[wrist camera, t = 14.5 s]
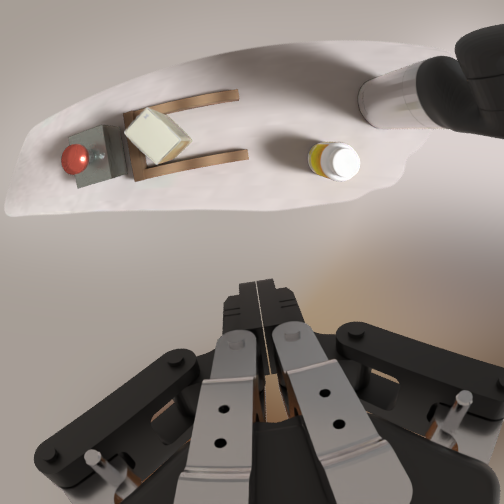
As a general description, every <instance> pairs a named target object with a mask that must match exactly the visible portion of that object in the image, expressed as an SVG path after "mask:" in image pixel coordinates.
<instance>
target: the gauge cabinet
mask: <svg viewBox="0 0 504 504" xmlns="http://www.w3.org/2000/svg"><path fill="white" fill-rule="evenodd" d="M68 138H69V145H72V144H81V145H83V146H85V147H86V149H89V150H91V151H92V152H93V154H94V159H93V162H92V163H91V164H90V165H88V166H87V168H86V169H85V170H84V171H83V172H81V173H79V174H75V178H76V183H77V188H81V187H85V186H88V185H91V184H95V183H98V182H102V181H105V180H109V179H112V178H115V177H118V176H122V175H125V174H128V172H127V167H126V161H125V156H124V150H123V144H122V138H121V132H120V127H116V126H108V125H100V126H98V127H95V128H92V129H89V130H86V131H84V132H81V133H78V134H76V135H73V136H71V137H68Z"/></svg>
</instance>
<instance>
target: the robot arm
mask: <svg viewBox="0 0 504 504" xmlns="http://www.w3.org/2000/svg"><path fill="white" fill-rule="evenodd" d="M455 54H456V57H457V60H458V61H457V60H455V59H453V58H451V57H447V56H437V57H433V58H430V59H427V60H424V61H421V62H418V63H415V64H412V65H409V66H406V67H404V68H401V69H398V70H395V71H393V72H390V73H387V74H385V75H382V76H379V77H377V78H374V79H372V80H369V81H367V82H366V83H365V84H363V86H362V87H361V89H360V91H359V95H358V104H359V108H360V111H361V113H362V115H363V117H364V118H365V119H366V120H367V121H368V122H369V123H370V124H371V125H372V126H374V127H376V128H379V129H451V130H453V131H456V132H462V133H471V134H478V135H483V136H489V137H495V138H500V139H504V24H500V25H495V26H490V27H486V28H482V29H479V30H476V31H473V32H471V33H469V34H466V35H465V36H463V37H462V38H461V39H460V40H459V41H458V42H457V43H456V45H455ZM257 287H258V294H259V300H260V307H261V313H262V320H263V326H264V332H265V338H266V344H267V349H268V356H269V362H270V368H271V373H272V374H276V373H277V376H278V382H279V389H280V392H281V396H282V399H283V403H284V406H285V410H286V413H287V416H288V419H287V420H284V421H282V422H278V423H268V422H266V392H265V384H266V381H265V375H269V374H270V373H269V366H268V359H267V353H266V347H265V340H264V335H263V327H262V321H261V315H260V309H259V303H258V296H257V290H256V284H255V282H247V283H241V284H239V293H240V294H239V295H234V296H229V297H228V298H227V300H226V301H225V302H224V311H223V333H222V334H223V335H222V336H221V337H220V338H219V339H218V341H217V344H216V348H215V349H214V350H212V351H210V352H208V353H206V354H203V355H200V356H197V357H196V355H195V354H194V353H193V352H192V351H190V350H188V349H175V350H172V351H169V352H167V353H165V354H164V355H162V356H161V357H160V358H158V359H157V360H156V361H154V362H153V363H152V364H150V365H149V366H148V367H146V368H145V369H144V370H142V371H141V372H140V373H138V374H137V375H136V376H135V377H133V378H132V379H130V380H129V381H128V382H127V383H125V384H124V385H122V386H121V387H120V388H118V389H117V390H115V391H114V392H113V393H111V394H110V395H109V396H107V397H106V398H105V399H103V400H102V401H101V402H99V403H98V404H96V405H95V406H94V407H92V408H91V409H89V410H88V411H87V412H85V413H84V414H83V415H81V416H80V417H78V418H77V419H75V420H74V421H73V422H71V423H70V424H68V425H67V426H66V427H64V428H63V429H61V430H60V431H58V432H57V433H56V434H54V435H53V436H51V437H50V438H48V439H47V440H45V441H44V442H43V443H42V444H40V445H39V446H38V448H37V449H36V452H35V454H34V463H35V466H36V467H37V468H38V470H39V471H41V472H42V473H43V474H44V475H45V476H46V477H47V478H49V479H50V480H51V481H52V482H53V483H54V485H56V486H57V487H58V488H60V489H61V490H62V491H64V493H65V494H66V496H67V497H68V498H69V500H70V501H71V503H72V504H499V501H500V485H499V481H498V478H497V476H496V474H495V472H494V471H493V470H492V468H490V467H489V466H488V463H489V461H490V458H491V456H492V453H493V450H494V447H495V444H496V441H497V438H498V435H499V432H500V429H501V425H502V422H503V421H504V368H503V367H499V366H496V365H493V364H489V363H486V362H483V361H479V360H476V359H473V358H470V357H466V356H463V355H460V354H457V353H454V352H451V351H447V350H445V349H441V348H438V347H435V346H432V345H429V344H426V343H423V342H420V341H417V340H414V339H411V338H408V337H405V336H402V335H399V334H396V333H393V332H390V331H387V330H384V329H382V328H379V327H375V326H373V325H370V324H367V323H364V322H349V323H346V324H344V325H342V326H341V327H339V328H338V330H337V331H336V334H319V333H315V332H313V330H312V329H311V327H310V326H309V325H307V324H305V322H304V319H303V317H302V314H301V311H300V308H299V306H298V304H297V301H296V298H295V296H294V293H293V292H292V291H291V290H289V289H288V288H287V287H285V288H279V289H276V288H275V285H274V281H273V279H266V280H260V281H257ZM372 369H375V370H377V371H380V372H382V373H385V374H387V375H390V376H392V377H394V378H396V379H397V380H398V382H399V383H400V384H398V383H396V382H393V381H391V380H388V379H386V378H383V377H381V376H378V375H376V374H374V373H371V370H372ZM171 399H173V401H174V403H173V404H172V405H171V406H170V407H169V408H168V409H166V410H165V411H164V412H163V413H162V414H160V415H159V416H158V417H157V418H156V419H154V420H153V421H152V422H151V419H152V417H153V415H154V414H155V413H156V412H158V411H159V410H160V409H161V408H162V407H164V406H165V405H166V404H167V403H168V402H170V401H171ZM366 411H368V412H370V413H372V414H370V413H366ZM400 426H401V427H400ZM407 429H408V430H407ZM409 430H410V431H409ZM411 431H412V432H411ZM413 432H415V433H417V434H415V433H413ZM418 434H420V435H422V436H425V437H426V438H424V437H422V436H420V435H418ZM190 438H191V440H190V441H189V442H187V441H188V440H189V439H190ZM186 442H187V443H186ZM185 443H186V444H185ZM167 459H168V460H167ZM166 460H167V461H166ZM165 461H166V462H165ZM164 462H165V463H164ZM158 467H159V468H158ZM157 468H158V469H157ZM156 469H157V470H156ZM155 470H156V471H155ZM154 471H155V472H154ZM153 472H154V473H153ZM152 473H153V474H152ZM150 474H152V475H151V476H150V477H149V478H148V479H146V478H147V477H148V476H149V475H150ZM144 479H146V480H145V481H144V482H143V483H142V481H143V480H144Z"/></svg>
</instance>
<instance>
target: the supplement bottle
mask: <svg viewBox="0 0 504 504" xmlns="http://www.w3.org/2000/svg"><path fill="white" fill-rule="evenodd" d="M308 164H309V166H310V168H311V170H312V171H313V172H314V173H316V174H318V175H320V176H323V177H326V178H329V179H331V180H334V181H346V180H348V179H350V178H351V177H352V176H354V175H355V174H356V173H357V172H358V170H359V168H360V159H359V157H358V155H357V153H356V152H355V150H354V149H353V148H352V147H351V146H350V145H348V144H346V143H343V142H321V143H318V144H316V145H314V146H313V147H312V148H311V149H310V151H309V154H308Z"/></svg>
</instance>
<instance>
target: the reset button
mask: <svg viewBox="0 0 504 504" xmlns="http://www.w3.org/2000/svg"><path fill="white" fill-rule="evenodd" d="M93 159H94V154H93V152H92V151H91V150H89V149H86V147H85V146H83V145H81V144H72V145H70V146H68V147H67V148H66V149H65V150H64V152H63V154H62V159H61V162H62V167H63V169H64V170H65V171H66V172H67V173H68V174H71V175H75V174H79V173H81V172H83V171H84V170H85V169H86V168H87V166H88V165H90V164H91V163H92V162H93Z"/></svg>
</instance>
